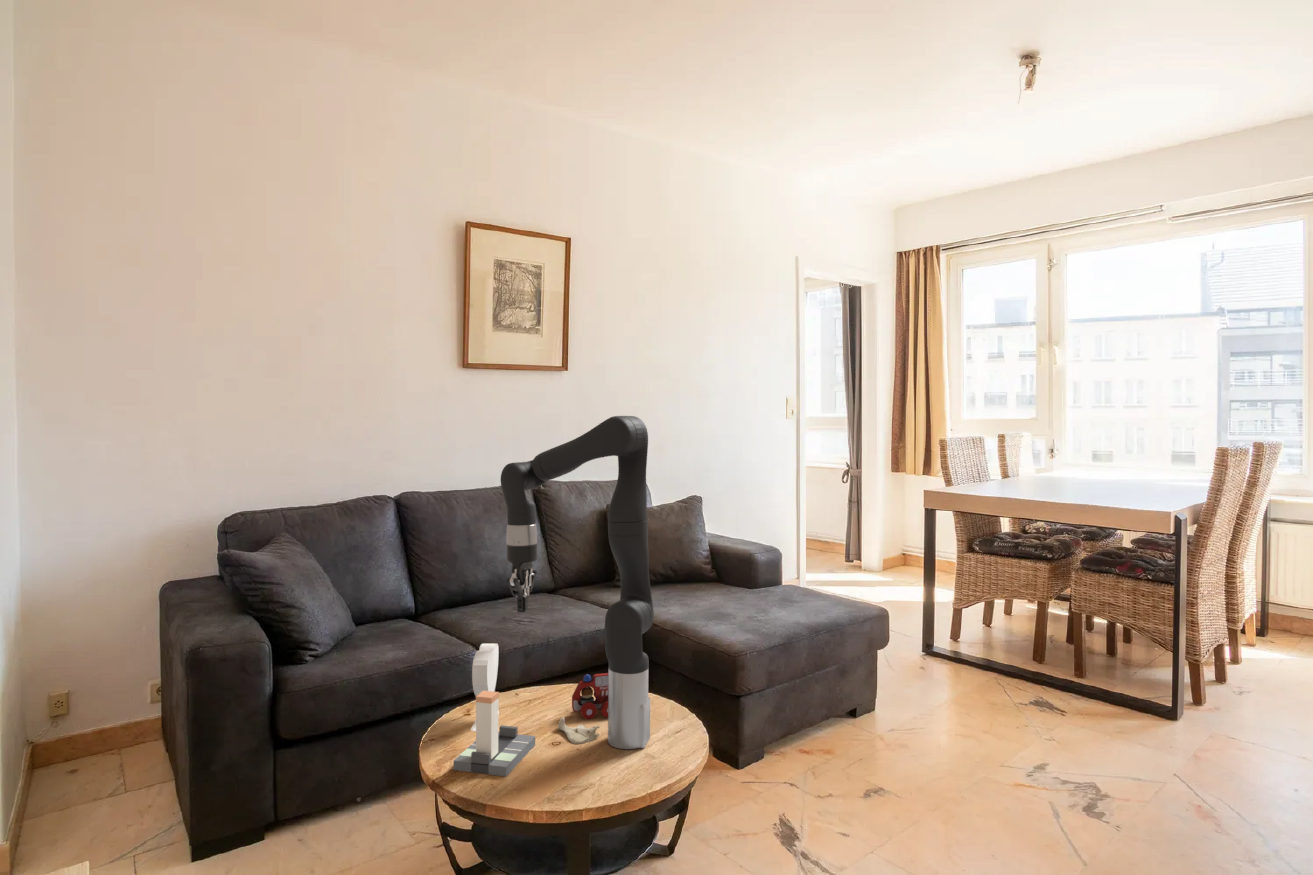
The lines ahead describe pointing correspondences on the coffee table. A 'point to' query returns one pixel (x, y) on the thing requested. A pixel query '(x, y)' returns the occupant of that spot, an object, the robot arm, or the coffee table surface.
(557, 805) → the coffee table surface
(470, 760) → the console
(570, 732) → the fossil
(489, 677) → the heart sculpture
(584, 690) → the toy fire truck
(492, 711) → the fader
